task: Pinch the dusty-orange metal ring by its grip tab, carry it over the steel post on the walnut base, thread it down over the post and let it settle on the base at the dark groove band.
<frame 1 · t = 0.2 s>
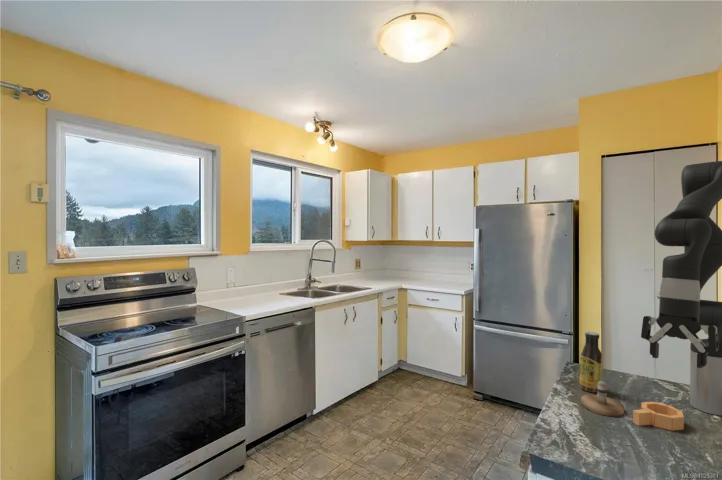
hand: (676, 362, 88), 22 cm above the countertop, tool pointing down, fingers open, 8 cm apart
sauce bottle: (590, 390, 122), on the countertop
ring: (661, 421, 101), on the countertop
post: (602, 407, 109), on the countertop
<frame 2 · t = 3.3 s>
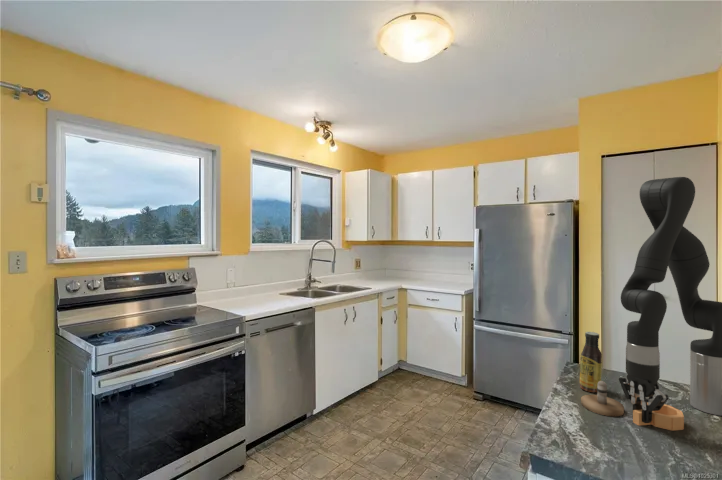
hand: (642, 419, 100), 1 cm above the countertop, tool pointing down, fingers closed on ring, 2 cm apart
ring: (661, 421, 101), on the countertop, touching gripper
everything else where it was.
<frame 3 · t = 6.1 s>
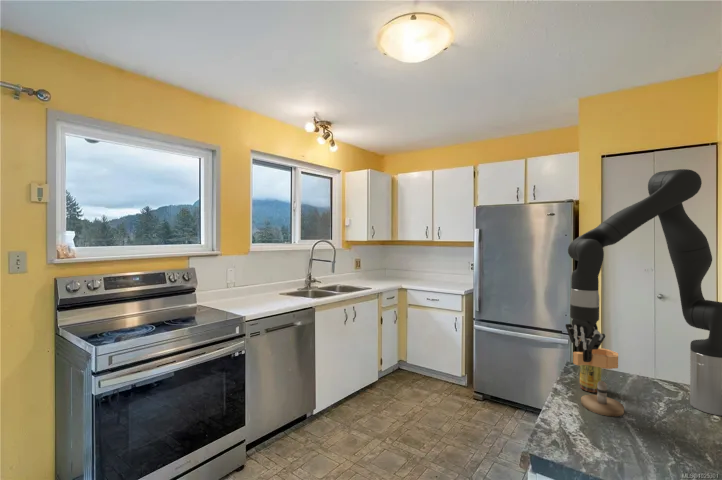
hand: (583, 360, 108), 15 cm above the countertop, tool pointing down, fingers closed on ring
ring: (599, 363, 109), point 14 cm above the countertop, touching gripper
everything else where it was.
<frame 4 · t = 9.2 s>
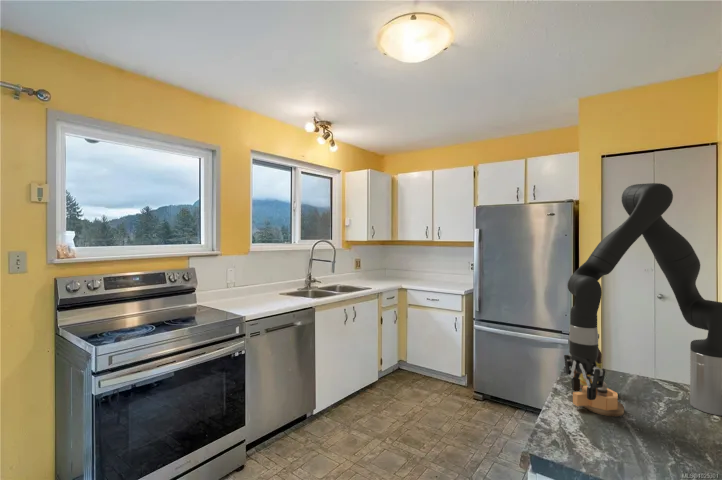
hand: (583, 394, 108), 4 cm above the countertop, tool pointing down, fingers open, 5 cm apart
ring: (599, 402, 109), point 1 cm above the countertop, touching post
everything else where it was.
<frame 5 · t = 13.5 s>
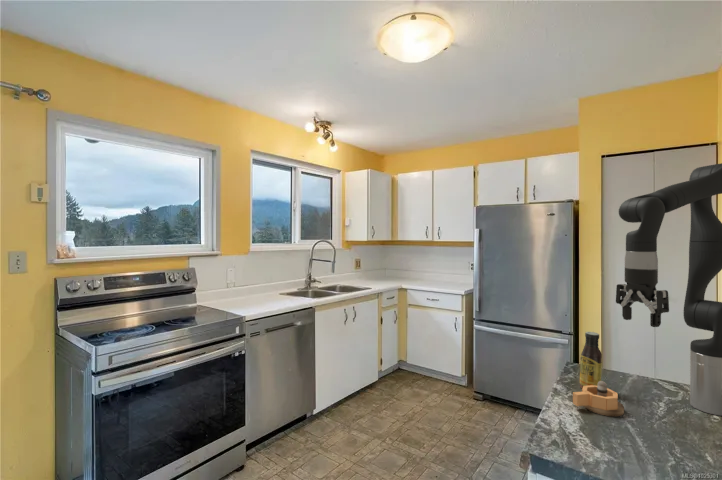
hand: (640, 322, 102), 28 cm above the countertop, tool pointing down, fingers open, 8 cm apart
nothing on the countertop moved.
at the end: ring 0.9 cm from the post (horizontally); ring point 1.5 cm above the countertop; the gripper is holding nothing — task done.
